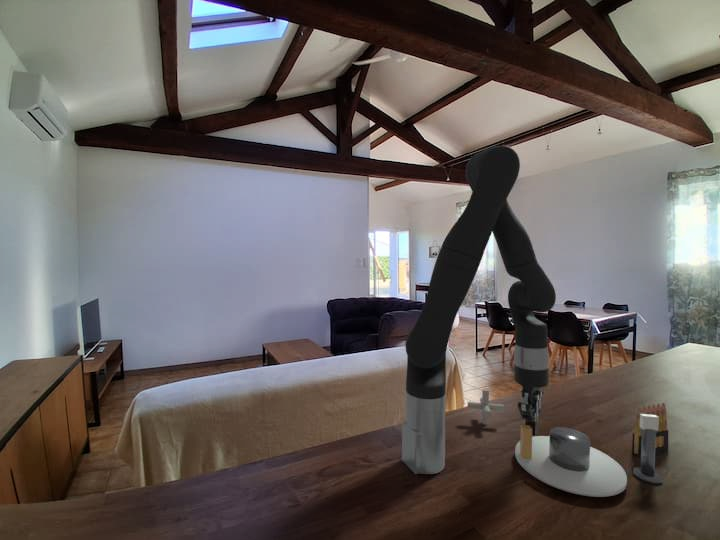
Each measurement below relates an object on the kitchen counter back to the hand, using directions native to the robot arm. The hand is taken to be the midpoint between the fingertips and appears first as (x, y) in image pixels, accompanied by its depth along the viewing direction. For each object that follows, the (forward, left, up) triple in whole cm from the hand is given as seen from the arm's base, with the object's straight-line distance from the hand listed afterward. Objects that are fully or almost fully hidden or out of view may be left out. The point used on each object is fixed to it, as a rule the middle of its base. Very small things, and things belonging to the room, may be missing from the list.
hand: (531, 433), depth 85 cm
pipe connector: (+3, +19, -6) cm, 20 cm away
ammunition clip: (+31, -9, -6) cm, 33 cm away
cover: (+4, -7, -4) cm, 9 cm away
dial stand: (+18, -15, -6) cm, 25 cm away
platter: (+4, -6, -5) cm, 9 cm away
